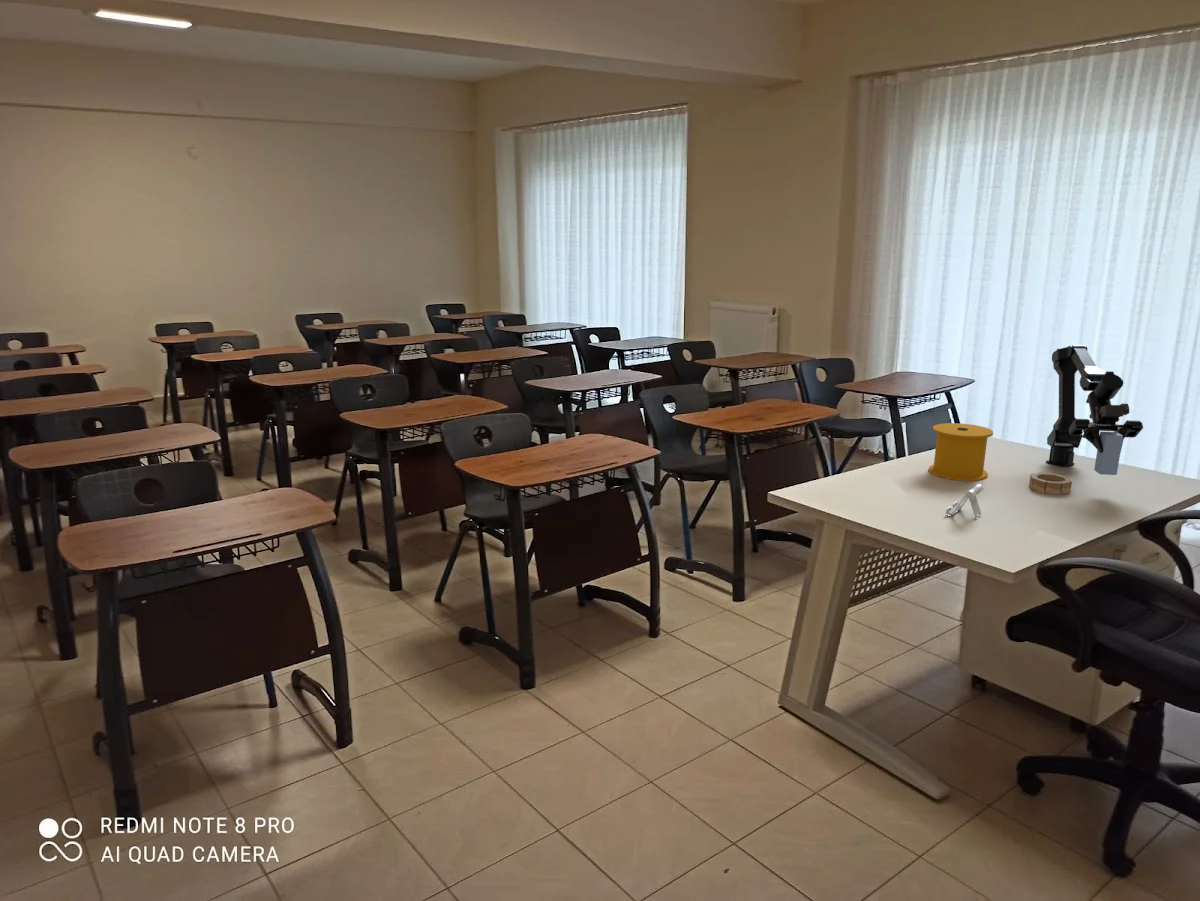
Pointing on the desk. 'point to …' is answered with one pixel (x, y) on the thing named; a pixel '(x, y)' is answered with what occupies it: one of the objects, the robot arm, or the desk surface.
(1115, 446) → the light blue block
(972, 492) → the portable electronic device stand
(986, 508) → the desk surface
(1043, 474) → the octagonal cardboard ring
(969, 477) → the spool
